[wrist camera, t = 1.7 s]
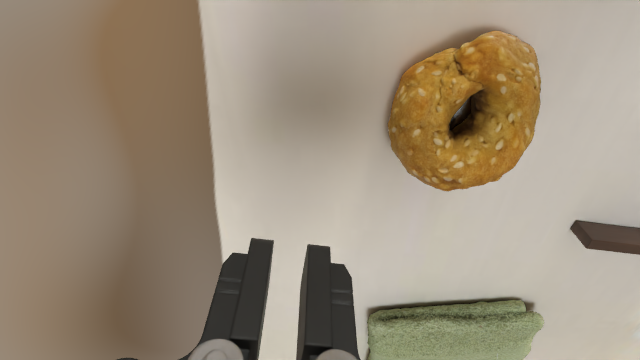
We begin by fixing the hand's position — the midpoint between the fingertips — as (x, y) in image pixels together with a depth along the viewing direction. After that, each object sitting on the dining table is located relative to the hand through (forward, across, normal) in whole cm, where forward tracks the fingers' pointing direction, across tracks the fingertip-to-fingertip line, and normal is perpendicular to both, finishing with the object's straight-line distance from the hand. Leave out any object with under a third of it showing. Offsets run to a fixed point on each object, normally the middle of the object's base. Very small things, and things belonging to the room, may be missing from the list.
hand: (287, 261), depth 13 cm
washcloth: (+17, -19, +27) cm, 37 cm away
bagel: (+17, -11, 0) cm, 20 cm away
